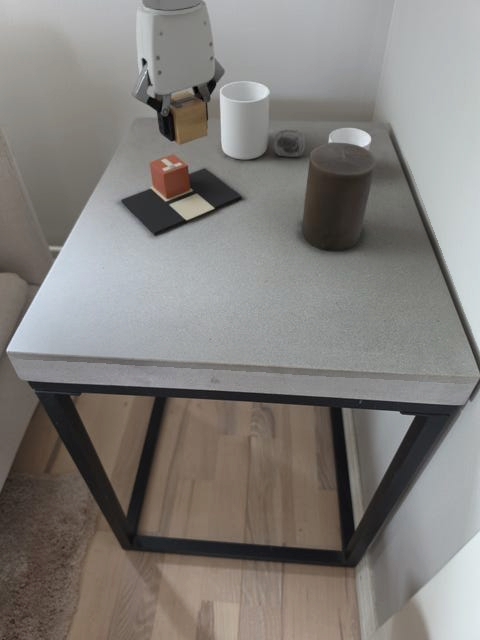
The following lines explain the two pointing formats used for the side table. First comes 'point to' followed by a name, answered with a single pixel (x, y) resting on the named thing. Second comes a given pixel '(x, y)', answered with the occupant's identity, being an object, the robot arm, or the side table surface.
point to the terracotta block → (170, 176)
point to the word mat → (181, 202)
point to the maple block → (188, 117)
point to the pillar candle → (337, 195)
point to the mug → (244, 119)
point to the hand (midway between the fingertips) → (184, 131)
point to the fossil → (289, 143)
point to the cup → (351, 137)
